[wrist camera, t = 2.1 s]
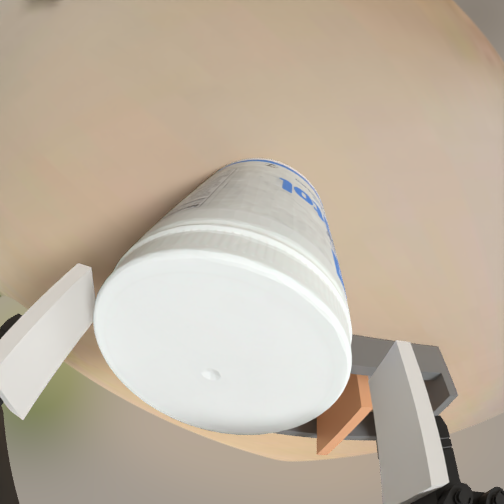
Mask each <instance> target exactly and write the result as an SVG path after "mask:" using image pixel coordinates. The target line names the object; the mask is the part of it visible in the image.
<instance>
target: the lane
mask: <svg viewBox="0 0 504 504" xmlns="http://www.w3.org/2000/svg"><path fill="white" fill-rule="evenodd" d="M394 342H395V341H390V340H383V339H376V338H370V337H364V336H358V335H352V341H351V352H352V367H351V372H350V374H357V375H366V376H372V375H373V373H374V372H375V371H376V369H377V368H378V366H379V365H380V363H381V362H382V361H383V359H384V358H385V356H386V355H387V353H388V352H389V350H390V349H391V347H392V345H393V344H394ZM411 346H412V349H413V351H414V354H415V357H416V360H417V363H418V366H419V369H420V372H421V374H422V378H423V381H424V384H425V387H426V390H427V393H428V397H429V400H430V403H431V407H432V410H433V414H434V416H438V415H439V414H440V413H441V412H442V411H443V410H444V409H445V408H446V407H447V406H448V405H449V404H450V403H451V402H452V401H453V400H454V399H455V398H456V397H457V396H458V394H457V391H456V388H455V386H454V383H453V381H452V378H451V376H450V373H449V371H448V368H447V366H446V364H445V361H444V359H443V356H442V354H441V352H440V350H439V347H437V346H428V345H420V344H412V343H411ZM275 433H277V434H284V435H292V436H301V437H311V438H317V417H316V418H314V419H313V420H311V421H309V422H307V423H305V424H302V425H300V426H298V427H295V428H292V429H288V430H284V431H280V432H275ZM343 440H376V443H377V435H376V428H375V420H374V413H373V412H369V413H368V414H367V416H366V417H365V418H364V419H363V420H362V421H361V422H360V423H359V424H358V425H357V426H356V427H355V428H354V429H353V430H352V431H351V432H350V433H349V434H348V435H347V436H346V437H345V438H344V439H343ZM377 452H378V443H377ZM378 459H379V452H378Z"/></svg>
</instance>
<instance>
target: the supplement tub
mask: <svg viewBox="0 0 504 504" xmlns="http://www.w3.org/2000/svg"><path fill="white" fill-rule="evenodd" d="M93 325H94V332H95V336H96V339H97V343H98V346H99V348H100V351H101V353H102V355H103V357H104V358H105V360H106V362H107V363H108V365H109V367H110V368H111V369H112V371H113V372H114V374H115V375H116V376H117V377H118V378H119V379H120V381H121V382H122V383H123V384H124V385H125V386H126V387H127V388H128V389H129V390H131V391H132V392H133V393H134V394H135V395H136V396H138V397H139V398H140V399H142V400H143V401H144V402H146V403H147V404H148V405H150V406H152V407H153V408H155V409H157V410H158V411H160V412H162V413H164V414H166V415H167V416H169V417H171V418H173V419H176V420H178V421H180V422H183V423H186V424H189V425H191V426H194V427H198V428H201V429H205V430H209V431H214V432H219V433H227V434H236V435H260V434H268V433H275V432H280V431H284V430H288V429H292V428H295V427H298V426H300V425H302V424H305V423H307V422H309V421H311V420H313V419H314V418H316V417H318V416H319V415H321V414H322V413H323V412H325V411H326V410H327V409H328V408H330V407H331V406H332V405H333V404H334V403H335V402H336V400H337V399H338V398H339V397H340V395H341V394H342V392H343V391H344V389H345V387H346V385H347V382H348V380H349V377H350V372H351V367H352V352H351V341H352V327H351V320H350V314H349V308H348V304H347V297H346V293H345V288H344V284H343V279H342V275H341V271H340V267H339V263H338V259H337V255H336V251H335V248H334V244H333V240H332V236H331V233H330V229H329V225H328V222H327V219H326V215H325V212H324V208H323V205H322V202H321V200H320V197H319V195H318V193H317V191H316V190H315V188H314V187H313V186H312V184H311V183H310V182H309V181H308V180H307V179H306V178H305V177H304V176H303V175H302V174H301V173H299V172H298V171H296V170H295V169H293V168H292V167H290V166H288V165H286V164H284V163H282V162H279V161H276V160H272V159H266V158H249V159H243V160H239V161H236V162H233V163H231V164H228V165H226V166H225V167H223V168H221V169H220V170H218V171H217V172H216V173H215V174H213V175H212V176H211V177H210V178H208V179H207V180H206V181H205V182H204V183H202V184H201V185H200V186H199V187H198V188H196V189H195V190H194V191H193V192H192V193H190V194H189V195H188V196H187V197H186V198H185V199H183V200H182V201H181V202H180V203H179V204H178V205H176V206H175V207H174V208H173V209H172V210H171V211H169V212H168V213H167V214H166V215H165V216H164V217H163V218H162V219H161V220H160V221H158V222H157V223H156V224H155V225H154V226H153V227H152V228H151V229H150V230H149V231H148V232H147V233H146V234H145V235H144V236H143V237H142V238H141V239H139V240H138V241H137V242H136V243H135V244H134V245H133V246H132V247H131V248H130V249H129V250H128V251H127V253H126V254H125V255H124V256H123V257H122V258H121V259H120V261H119V262H118V263H117V265H116V267H115V269H114V271H113V272H112V273H111V275H110V276H109V277H108V278H107V279H106V281H105V282H104V284H103V285H102V287H101V289H100V290H99V292H98V295H97V298H96V301H95V305H94V311H93Z"/></svg>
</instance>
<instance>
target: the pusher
mask: <svg viewBox="0 0 504 504" xmlns="http://www.w3.org/2000/svg"><path fill="white" fill-rule="evenodd" d="M370 378H371V376H366V375H357V374H350V377H349V380H348V382H347V385H346V387H345V389H344V391H343V392H342V394H341V395H340V397H339V398H338V399H337V400H336V402H335V403H334V404H333V405H332V406H331V407H330V408H328V409H327V410H326V411H325V412H323V413H322V414H321V415H319V416H318V417H317V454H318V455H327V454H328V453H330V452H331V451H332V450H333V449H334V448H335V447H336V446H337V445H338V444H339V443H340V442H341V441H342V440H343V439H344V438H345V437H346V436H347V435H348V434H349V433H350V432H351V431H352V430H353V429H354V428H355V427H356V426H357V425H358V424H359V423H360V422H361V421H362V420H363V419H364V418H365V417H366V416H367V414H368V413H369V412H370V411H371V410H372V409H373V407H372V400H371V394H370V388H369V383H368V380H369V379H370Z"/></svg>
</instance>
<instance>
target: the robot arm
mask: <svg viewBox="0 0 504 504" xmlns="http://www.w3.org/2000/svg"><path fill="white" fill-rule="evenodd" d="M95 301H96V298H95V291H94V284H93V277H92V268H91V267H89V266H86V265H83V264H80V263H78V264H76V265H75V266H74V267H73V268H72V269H71V270H70V271H68V272H67V273H66V274H65V275H64V276H63V277H62V278H61V279H60V280H59V281H58V282H56V283H55V284H54V285H53V286H52V287H51V288H50V289H49V290H48V291H47V292H46V293H45V294H44V295H43V296H42V297H41V298H40V299H39V300H38V301H37V302H35V303H34V304H33V305H32V306H31V307H30V308H29V309H28V310H27V312H26V313H25V314H24V315H23V316H22V315H20V314H17V315H15V316H13V317H11V318H10V319H8V320H7V321H6V322H5V323H4V324H3V325H2V326H1V327H0V504H19V501H18V497H17V493H16V490H15V486H14V481H13V477H12V472H11V467H10V462H9V457H8V450H7V443H6V436H5V427H4V417H3V410H2V407H1V405H2V404H3V402H4V403H5V405H6V406H7V407H8V408H9V410H10V411H11V412H13V413H14V414H15V415H17V416H18V417H20V418H21V419H22V420H24V418H25V416H26V415H27V413H28V412H29V410H30V409H31V407H32V406H33V404H34V403H35V401H36V400H37V398H38V397H39V395H40V393H41V392H42V391H43V389H44V388H45V386H46V385H47V383H48V382H49V381H50V379H51V378H52V376H53V375H54V373H55V372H56V371H57V369H58V368H59V367H60V365H61V364H62V362H63V361H64V360H65V358H66V357H67V356H68V354H69V353H70V352H71V350H72V349H73V348H74V346H75V345H76V344H77V342H78V341H79V340H80V338H81V337H82V336H83V334H84V333H85V332H86V331H87V329H88V328H89V327H90V325H91V324H92V323H93V311H94V305H95ZM368 383H369V388H370V394H371V400H372V407H373V413H374V420H375V428H376V435H377V443H378V452H379V461H380V472H381V484H382V499H383V504H504V491H503V489H501V488H500V487H494V488H493V489H491V490H489V491H488V492H486V493H484V492H474V491H472V490H471V488H470V487H469V486H468V485H467V484H464V483H461V482H460V479H459V475H458V471H457V465H456V461H455V457H454V452H453V448H451V446H452V444H451V440H450V439H449V437H450V436H449V432H448V429H447V425H446V424H445V422H444V421H443V419H442V418H441V416H434V414H433V410H432V407H431V403H430V400H429V397H428V393H427V390H426V387H425V384H424V381H423V378H422V374H421V372H420V369H419V366H418V363H417V360H416V357H415V354H414V351H413V349H412V346H411V343H410V342H405V341H398V340H396V341H395V342H394V344H393V345H392V347H391V349H390V350H389V352H388V353H387V355H386V356H385V358H384V359H383V361H382V362H381V363H380V365H379V366H378V368H377V369H376V371H375V372H374V373H373V375H372V376H371V378H370V379H369V380H368Z"/></svg>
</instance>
